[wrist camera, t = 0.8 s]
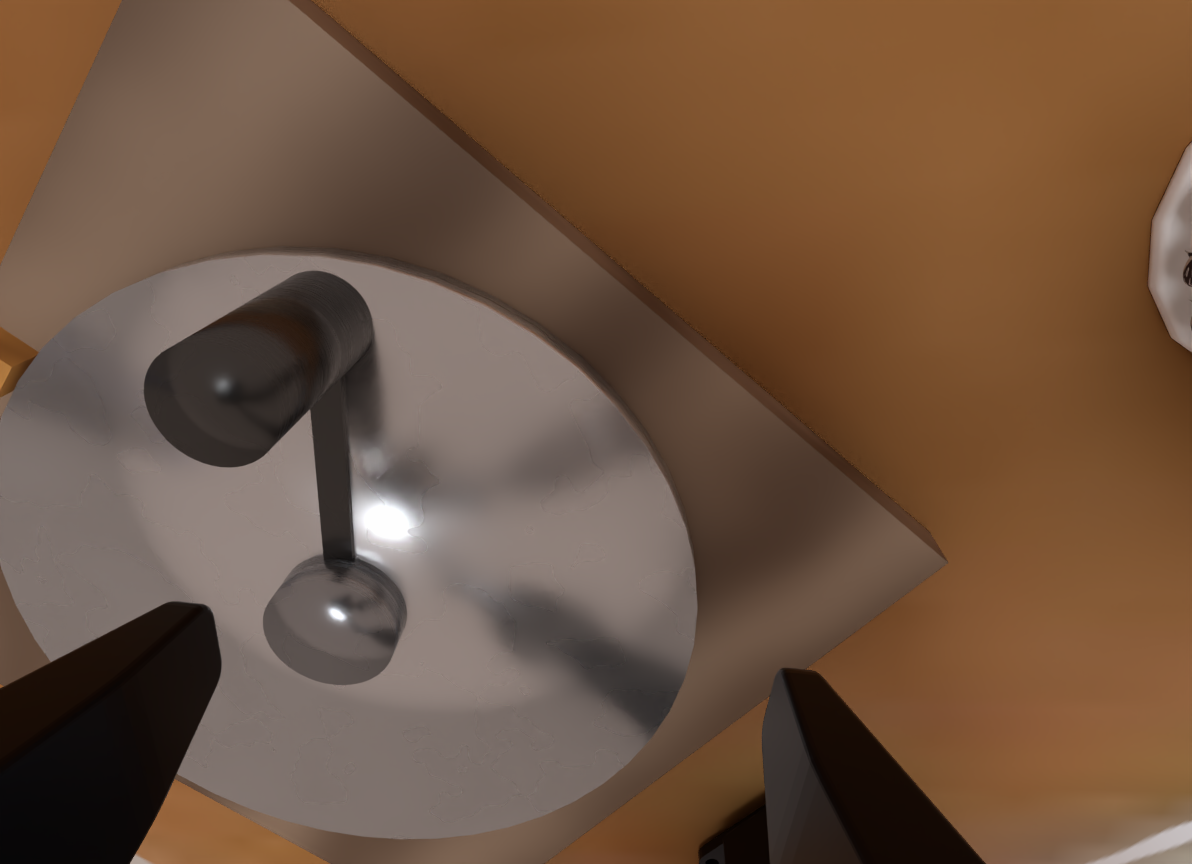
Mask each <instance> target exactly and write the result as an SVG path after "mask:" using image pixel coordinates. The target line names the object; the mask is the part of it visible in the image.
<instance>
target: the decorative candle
mask: <svg viewBox="0 0 1192 864" xmlns="http://www.w3.org/2000/svg"><path fill="white" fill-rule="evenodd" d="M1148 288H1149V290H1150V292H1151V294H1152V297H1153V299H1154V301H1155V303H1156V306H1157V308H1158V310H1159V312H1160V315H1161V317H1162V319H1163V321H1164V324H1165V326H1166V328H1167V330H1168V332H1169V335H1170V337H1171V338H1172V339H1174V340H1175V341H1176V342H1178V343H1179V344H1181V345H1182V346H1183V347H1185V348H1186V349H1188V350H1189V351H1190V352H1192V142H1191V143H1190V144H1189V145H1188V146H1187V147H1186V149H1185V151H1184V153H1183V155H1182V158H1181V160H1180V162H1179V164H1178V166H1177V168H1176V170H1175V172H1174V175H1173V177H1172V179H1171V181H1170V183H1169V185H1168V187H1167V189H1166V192H1165V194H1164V196H1163V198H1162V200H1161V202H1160V204H1159V206H1158V208H1157V211H1156V213H1155V215H1154V217H1153V219H1152V228H1151V243H1150V259H1149V274H1148Z"/></svg>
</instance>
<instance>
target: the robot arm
mask: <svg viewBox="0 0 1192 864" xmlns="http://www.w3.org/2000/svg"><path fill="white" fill-rule="evenodd" d="M221 670H222V658H221V652H220V647H219V641H218V636H217V630H216V625H215V619H214V615H213V612H212V610H211V609H210V607H208V606H207V605H204V604H199V603H190V602H181V601H171V602H167V603H165V604H162V605H160V606H158V607H156V608H155V609H153V610H151V611H149V612H147V613H145V614H143V615H141V616H139V617H137V618H135V619H133V620H131V621H129V622H127V623H126V624H124V625H122V626H120V627H118V628H116V629H114V630H112V631H110V632H108V633H106V634H104V635H102V636H100V637H98V638H97V639H95V640H93V641H91V642H89V643H87V644H85V645H83V646H81V647H79V648H77V649H75V650H73V651H71V652H69V653H68V654H66V655H64V656H62V657H60V658H58V659H56V660H54V661H52V662H50V663H48V664H46V665H44V666H42V667H40V668H39V669H37V670H35V671H33V672H31V673H29V674H27V675H25V676H23V677H21V678H19V679H17V680H15V681H13V682H11V683H10V684H8V685H6V686H4V687H2V688H0V864H130V862H131V861H132V859H133V857H134V855H135V854H136V852H137V850H138V849H139V847H140V845H141V843H142V842H143V840H144V838H145V836H146V835H147V833H148V831H149V829H150V827H151V826H152V824H153V822H154V820H155V818H156V816H157V814H158V812H159V810H160V808H161V806H162V804H163V802H164V800H165V798H166V796H167V794H168V792H169V790H170V787H171V785H172V783H173V781H174V779H175V776H176V774H177V772H178V770H179V768H180V766H181V763H182V761H183V759H184V757H185V755H186V752H187V750H188V748H189V746H190V744H191V742H192V739H193V737H194V735H195V733H196V731H197V728H198V726H199V724H200V722H201V720H202V718H203V715H204V713H205V711H206V709H207V707H208V704H209V702H210V700H211V698H212V696H213V694H214V691H215V689H216V687H217V685H218V682H219V679H220V676H221ZM762 753H763V768H764V782H765V797H766V804H765V805H764V806H762V807H761V808H759V809H758V810H756V811H755V812H753V813H752V814H750V815H749V816H747V817H746V818H744V819H743V820H741V821H740V822H738V823H737V824H735V825H734V826H733V827H731V828H730V829H728V830H727V831H725V832H724V833H722V834H721V835H719V836H718V837H716V838H715V839H713V840H712V841H710V842H709V843H707V844H706V845H704V846H703V847H701V848H700V850H699V852H698V858H699V864H986V863H985V862H984V861H983V860H982V859H981V858H980V856H979V855H978V854H977V853H976V852H975V851H974V850H973V848H972V847H971V846H970V845H969V844H968V843H967V842H966V840H965V839H964V838H963V837H962V836H961V835H960V834H959V832H958V831H957V830H956V829H955V828H954V827H953V826H952V824H951V823H950V822H949V821H948V820H947V819H946V818H945V816H944V815H943V814H942V813H941V812H940V811H939V810H938V808H937V807H936V806H935V805H934V804H933V803H932V802H931V800H930V799H929V798H928V797H927V796H926V795H925V794H924V792H923V791H922V790H921V789H920V788H919V787H918V786H917V784H916V783H915V782H914V781H913V780H912V779H911V777H910V776H909V775H908V774H907V773H906V772H905V771H904V769H903V768H902V767H901V766H900V765H899V764H898V763H897V761H896V760H895V759H894V758H893V757H892V756H891V755H890V753H889V752H888V751H887V750H886V749H885V748H884V747H883V745H882V744H881V743H880V742H879V741H878V740H877V739H876V737H875V736H874V735H873V734H872V733H871V732H870V731H869V729H868V728H867V727H866V726H865V725H864V724H863V723H862V721H861V720H860V719H859V718H858V717H857V716H856V715H855V713H854V712H853V711H852V710H851V709H850V708H849V707H848V705H847V704H846V703H845V702H844V701H843V700H842V699H841V697H840V696H839V695H838V694H837V693H836V692H835V691H834V689H833V688H832V687H831V686H830V685H829V684H828V682H827V681H826V680H825V679H824V678H823V677H822V676H821V675H820V674H819V673H817V672H815V671H812V670H804V669H795V668H782V669H780V670H778V672H777V674H776V675H775V678H774V682H773V686H772V690H771V694H770V698H769V702H768V705H767V709H766V713H765V717H764V721H763V728H762Z"/></svg>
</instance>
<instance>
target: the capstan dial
mask: <svg viewBox="0 0 1192 864" xmlns="http://www.w3.org/2000/svg"><path fill="white" fill-rule="evenodd" d="M0 565H1V569H2V572H3V574H4V577H5V579H6V582H7V584H8V587H9V589H10V592H11V594H12V597H13V599H14V602H15V604H16V606H17V608H18V610H19V612H20V613H21V615H22V617H23V619H24V621H25V623H26V624H27V626H28V628H29V630H30V632H31V633H32V635H33V637H34V639H35V640H36V642H37V643H38V645H39V646H40V647H41V649H42V650H43V652H44V653H45V654H46V656H47V657H48V659H49V660H50V661H51V662H52V661H54V660H56V659H58V658H60V657H62V656H64V655H66V654H68V653H69V652H71V651H73V650H75V649H77V648H79V647H81V646H83V645H85V644H87V643H89V642H91V641H93V640H95V639H97V638H98V637H100V636H102V635H104V634H106V633H108V632H110V631H112V630H114V629H116V628H118V627H120V626H122V625H124V624H126V623H127V622H129V621H131V620H133V619H135V618H137V617H139V616H141V615H143V614H145V613H147V612H149V611H151V610H153V609H155V608H156V607H158V606H160V605H162V604H165V603H167V602H171V601H181V602H190V603H199V604H204V605H207V606H208V607H210V609H211V610H212V612H213V615H214V619H215V625H216V630H217V636H218V641H219V647H220V652H221V658H222V670H221V676H220V679H219V682H218V685H217V687H216V689H215V691H214V694H213V696H212V698H211V700H210V702H209V704H208V707H207V709H206V711H205V713H204V715H203V718H202V720H201V722H200V724H199V726H198V728H197V731H196V733H195V735H194V737H193V739H192V742H191V744H190V746H189V748H188V750H187V752H186V755H185V757H184V759H183V761H182V763H181V766H180V768H179V770H178V772H177V774H178V775H180V776H182V777H184V778H186V779H187V780H189V781H191V782H193V783H195V784H197V785H199V786H201V787H203V788H205V789H206V790H208V791H210V792H212V793H214V794H216V795H219V796H221V797H223V798H226V799H228V800H230V801H233V802H235V803H237V804H240V805H242V806H244V807H247V808H249V809H252V810H255V811H258V812H261V813H264V814H267V815H270V816H273V817H276V818H279V819H282V820H285V821H288V822H292V823H296V824H300V825H304V826H308V827H312V828H316V829H321V830H325V831H331V832H337V833H343V834H350V835H356V836H362V837H376V838H389V839H439V838H448V837H457V836H466V835H474V834H479V833H484V832H489V831H493V830H498V829H503V828H508V827H511V826H514V825H517V824H520V823H523V822H526V821H529V820H533V819H536V818H539V817H542V816H544V815H546V814H548V813H551V812H553V811H555V810H557V809H559V808H562V807H564V806H566V805H568V804H570V803H573V802H574V801H576V800H578V799H579V798H581V797H583V796H584V795H586V794H587V793H589V792H591V791H592V790H594V789H596V788H597V787H599V786H601V785H602V784H603V783H605V782H606V781H607V780H608V779H610V778H611V777H612V776H613V775H614V774H616V773H617V772H618V771H619V770H621V769H622V768H623V767H624V766H626V765H627V764H628V763H629V762H630V761H631V760H632V759H633V758H634V757H635V756H636V754H637V753H638V752H639V751H640V750H641V749H642V748H643V747H644V746H645V745H646V744H647V743H648V741H649V740H650V739H651V738H652V737H653V735H654V734H655V732H656V731H657V729H658V728H659V726H660V725H661V723H662V722H663V720H664V719H665V717H666V716H667V714H668V713H669V711H670V710H671V707H672V705H673V703H674V701H675V699H676V697H677V695H678V692H679V690H680V688H681V686H682V684H683V682H684V679H685V676H686V672H687V669H688V665H689V661H690V658H691V654H692V650H693V647H694V639H695V629H696V619H697V610H698V607H697V591H696V576H695V563H694V552H693V545H692V541H691V537H690V532H689V528H688V523H687V519H686V514H685V510H684V507H683V504H682V502H681V499H680V497H679V494H678V492H677V489H676V487H675V484H674V482H673V479H672V476H671V474H670V471H669V469H668V467H667V465H666V464H665V462H664V460H663V458H662V457H661V455H660V453H659V451H658V450H657V448H656V446H655V444H654V443H653V441H652V439H651V437H650V436H649V434H648V432H647V430H646V429H645V428H644V426H643V425H642V424H641V422H640V421H639V420H638V418H637V417H636V416H635V414H634V413H633V412H632V411H631V409H630V408H629V407H628V405H627V404H626V403H625V401H624V400H623V399H622V398H621V396H620V395H619V394H618V392H617V391H616V390H615V389H614V388H613V387H612V386H611V385H610V384H609V383H608V382H607V381H606V380H605V379H604V378H603V377H602V376H601V375H600V374H599V373H598V372H597V371H596V370H595V369H594V368H593V367H592V366H591V365H590V364H589V363H588V362H587V361H586V360H585V359H584V358H583V357H582V356H581V355H580V354H578V353H577V352H576V351H574V350H573V349H572V348H570V347H569V346H568V345H567V344H565V343H564V342H563V341H561V340H560V339H559V338H558V337H556V336H555V335H554V334H552V333H551V332H550V331H549V330H547V329H546V328H545V327H543V326H542V325H541V324H540V323H538V322H536V321H535V320H533V319H531V318H529V317H528V316H526V315H524V314H523V313H521V312H519V311H518V310H516V309H514V308H513V307H511V306H509V305H508V304H506V303H504V302H503V301H501V300H499V299H498V298H496V297H494V296H492V295H490V294H488V293H486V292H483V291H481V290H479V289H477V288H474V287H472V286H470V285H467V284H465V283H463V282H461V281H458V280H456V279H454V278H452V277H449V276H447V275H445V274H442V273H439V272H436V271H433V270H429V269H426V268H423V267H419V266H416V265H413V264H409V263H406V262H403V261H399V260H396V259H393V258H389V257H384V256H378V255H372V254H366V253H360V252H354V251H348V250H342V249H336V248H315V247H287V246H278V247H269V248H259V249H249V250H239V251H230V252H225V253H221V254H218V255H214V256H210V257H206V258H202V259H198V260H194V261H190V262H186V263H182V264H179V265H177V266H175V267H172V268H170V269H168V270H165V271H163V272H160V273H158V274H156V275H153V276H151V277H149V278H146V279H144V280H142V281H139V282H137V283H135V284H132V285H130V286H128V287H125V288H123V289H121V290H118V291H116V292H114V293H112V294H110V295H109V296H107V297H106V298H104V299H103V300H101V301H99V302H98V303H96V304H95V305H93V306H92V307H90V308H89V309H87V310H86V311H84V312H82V313H81V314H79V315H78V316H76V317H75V318H73V319H72V320H71V321H70V322H69V323H68V324H67V325H66V326H65V327H64V328H63V329H62V330H61V331H60V332H59V333H57V334H56V335H55V336H54V337H53V338H52V339H51V340H50V341H49V342H48V343H47V344H46V345H45V346H44V347H43V348H42V349H41V350H40V352H39V353H38V354H37V356H36V357H35V359H34V360H33V361H32V363H31V364H30V365H29V367H28V368H27V370H26V371H25V372H24V374H23V375H22V376H21V378H20V379H19V381H18V383H17V385H16V387H15V389H14V391H13V393H12V395H11V397H10V399H9V402H8V404H7V406H6V408H5V410H4V412H3V414H2V416H1V420H0Z"/></svg>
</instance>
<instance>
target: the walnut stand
mask: <svg viewBox="0 0 1192 864" xmlns="http://www.w3.org/2000/svg"><path fill="white" fill-rule="evenodd" d="M278 246H287V247H315V248H336V249H342V250H348V251H354V252H360V253H366V254H372V255H378V256H384V257H389V258H393V259H396V260H399V261H403V262H406V263H409V264H413V265H416V266H419V267H423V268H426V269H429V270H433V271H436V272H439V273H442V274H445V275H447V276H449V277H452V278H454V279H456V280H458V281H461V282H463V283H465V284H467V285H470V286H472V287H474V288H477V289H479V290H481V291H483V292H486V293H488V294H490V295H492V296H494V297H496V298H498V299H499V300H501V301H503V302H504V303H506V304H508V305H509V306H511V307H513V308H514V309H516V310H518V311H519V312H521V313H523V314H524V315H526V316H528V317H529V318H531V319H533V320H535V321H536V322H538V323H540V324H541V325H542V326H543V327H545V328H546V329H547V330H549V331H550V332H551V333H552V334H554V335H555V336H556V337H558V338H559V339H560V340H561V341H563V342H564V343H565V344H567V345H568V346H569V347H570V348H572V349H573V350H574V351H576V352H577V353H578V354H580V355H581V356H582V357H583V358H584V359H585V360H586V361H587V362H588V363H589V364H590V365H591V366H592V367H593V368H594V369H595V370H596V371H597V372H598V373H599V374H600V375H601V376H602V377H603V378H604V379H605V380H606V381H607V382H608V383H609V384H610V385H611V386H612V387H613V388H614V389H615V390H616V391H617V392H618V394H619V395H620V396H621V398H622V399H623V400H624V401H625V403H626V404H627V405H628V407H629V408H630V409H631V411H632V412H633V413H634V414H635V416H636V417H637V418H638V420H639V421H640V422H641V424H642V425H643V426H644V428H645V429H646V430H647V432H648V434H649V436H650V437H651V439H652V441H653V443H654V444H655V446H656V448H657V450H658V451H659V453H660V455H661V457H662V458H663V460H664V462H665V464H666V465H667V467H668V469H669V471H670V474H671V476H672V479H673V482H674V484H675V487H676V489H677V492H678V494H679V497H680V499H681V502H682V504H683V507H684V510H685V514H686V519H687V523H688V528H689V532H690V537H691V541H692V545H693V552H694V563H695V576H696V591H697V607H698V610H697V619H696V629H695V639H694V647H693V650H692V654H691V658H690V661H689V665H688V669H687V672H686V676H685V679H684V682H683V684H682V686H681V688H680V690H679V692H678V695H677V697H676V699H675V701H674V703H673V705H672V707H671V710H670V711H669V713H668V714H667V716H666V717H665V719H664V720H663V722H662V723H661V725H660V726H659V728H658V729H657V731H656V732H655V734H654V735H653V737H652V738H651V739H650V740H649V741H648V743H647V744H646V745H645V746H644V747H643V748H642V749H641V750H640V751H639V752H638V753H637V754H636V756H635V757H634V758H633V759H632V760H631V761H630V762H629V763H628V764H627V765H626V766H624V767H623V768H622V769H621V770H619V771H618V772H617V773H616V774H614V775H613V776H612V777H611V778H610V779H608V780H607V781H606V782H605V783H603V784H602V785H601V786H599V787H597V788H596V789H594V790H592V791H591V792H589V793H587V794H586V795H584V796H583V797H581V798H579V799H578V800H576V801H574V802H573V803H570V804H568V805H566V806H564V807H562V808H559V809H557V810H555V811H553V812H551V813H548V814H546V815H544V816H542V817H539V818H536V819H533V820H529V821H526V822H523V823H520V824H517V825H514V826H511V827H508V828H503V829H498V830H493V831H489V832H484V833H479V834H474V835H466V836H457V837H448V838H439V839H389V838H376V837H362V836H356V835H350V834H343V833H337V832H331V831H325V830H321V829H316V828H312V827H308V826H304V825H300V824H296V823H292V822H288V821H285V820H282V819H279V818H276V817H273V816H270V815H267V814H264V813H261V812H258V811H255V810H252V809H249V808H247V807H244V806H242V805H240V804H237V803H235V802H233V801H230V800H228V799H226V798H223V797H221V796H219V795H216V794H214V793H212V792H210V791H208V790H206V789H205V788H203V787H201V786H199V785H197V784H195V783H193V782H191V781H189V780H187V779H186V778H184V777H182V776H180V775H178V774H176V776H175V779H176V780H178V781H180V782H182V783H183V784H185V785H187V786H189V787H191V788H193V789H194V790H196V791H198V792H200V793H202V794H204V795H205V796H207V797H209V798H211V799H213V800H215V801H216V802H218V803H220V804H222V805H224V806H226V807H227V808H229V809H231V810H233V811H235V812H237V813H239V814H240V815H242V816H244V817H246V818H248V819H250V820H251V821H253V822H255V823H257V824H259V825H261V826H262V827H264V828H266V829H268V830H270V831H272V832H273V833H275V834H277V835H279V836H281V837H283V838H285V839H286V840H288V841H290V842H292V843H294V844H296V845H297V846H299V847H301V848H303V849H305V850H307V851H308V852H310V853H312V854H314V855H316V856H318V857H319V858H321V859H323V860H325V861H327V862H329V863H330V864H544V863H546V862H547V861H549V860H550V859H551V858H553V857H554V856H555V855H557V854H558V853H559V852H561V851H562V850H563V849H565V848H566V847H567V846H569V845H570V844H571V843H573V842H574V841H575V840H577V839H578V838H579V837H581V836H582V835H583V834H585V833H586V832H587V831H589V830H590V829H591V828H593V827H594V826H596V825H597V824H598V823H600V822H601V821H602V820H604V819H605V818H606V817H608V816H609V815H610V814H612V813H613V812H614V811H616V810H617V809H618V808H620V807H621V806H622V805H624V804H625V803H626V802H628V801H629V800H630V799H632V798H633V797H634V796H636V795H637V794H638V793H640V792H641V791H643V790H644V789H645V788H647V787H648V786H649V785H651V784H652V783H653V782H655V781H656V780H657V779H659V778H660V777H661V776H663V775H664V774H665V773H667V772H668V771H669V770H671V769H672V768H673V767H675V766H676V765H677V764H679V763H680V762H681V761H683V760H684V759H685V758H687V757H688V756H689V755H691V754H692V753H694V752H695V751H696V750H698V749H699V748H700V747H702V746H703V745H704V744H706V743H707V742H708V741H710V740H711V739H712V738H714V737H715V736H716V735H718V734H719V733H720V732H722V731H723V730H724V729H726V728H727V727H728V726H730V725H731V724H732V723H734V722H735V721H736V720H738V719H739V718H741V717H742V716H743V715H745V714H746V713H747V712H749V711H750V710H751V709H753V708H754V707H755V706H757V705H758V704H759V703H761V702H762V701H763V700H765V699H766V698H767V697H769V696H770V694H771V690H772V686H773V682H774V678H775V675H776V674H777V672H778V670H780V669H782V668H795V669H804V670H805V669H806V668H808V667H809V666H810V665H812V664H813V663H814V662H816V661H817V660H818V659H820V658H821V657H822V656H824V655H825V654H826V653H828V652H829V651H830V650H832V649H833V648H835V647H836V646H837V645H839V644H840V643H841V642H843V641H844V640H845V639H847V638H848V637H849V636H851V635H852V634H853V633H855V632H856V631H857V630H859V629H860V628H861V627H863V626H864V625H865V624H867V623H868V622H869V621H871V620H872V619H873V618H875V617H876V616H877V615H879V614H880V613H881V612H883V611H884V610H886V609H887V608H888V607H890V606H891V605H892V604H894V603H895V602H896V601H898V600H899V599H900V598H902V597H903V596H904V595H906V594H907V593H908V592H910V591H911V590H912V589H914V588H915V587H916V586H918V585H919V584H920V583H922V582H923V581H924V580H926V579H927V578H928V577H930V576H931V575H933V574H934V573H935V572H937V571H938V570H939V569H941V568H942V567H943V566H945V565H946V564H947V563H948V561H947V560H946V558H945V556H944V555H943V553H942V551H941V550H940V548H939V547H938V545H937V543H936V542H935V540H934V538H933V537H932V535H931V533H930V532H929V531H928V530H926V529H925V528H924V527H923V526H922V525H921V524H919V523H918V522H917V521H916V520H915V519H914V518H912V517H911V516H910V515H909V514H908V513H907V512H906V511H904V510H903V509H902V508H901V507H900V506H899V505H897V504H896V503H895V502H894V501H893V500H892V499H890V498H889V497H888V496H887V495H886V494H885V493H883V492H882V491H881V490H880V489H879V488H878V487H876V486H875V485H874V484H873V483H872V482H871V481H869V480H868V479H867V478H866V477H865V476H864V475H862V474H861V473H860V472H859V471H858V470H857V469H855V468H854V467H853V466H852V465H851V464H850V463H849V462H847V461H846V460H845V459H844V458H843V457H842V456H840V455H839V454H838V453H837V452H836V451H835V450H833V449H832V448H831V447H830V446H829V445H828V444H826V443H825V442H824V441H823V440H822V439H821V438H819V437H818V436H817V435H816V434H815V433H814V432H812V431H811V430H810V429H809V428H808V427H807V426H805V425H804V424H803V423H802V422H801V421H800V420H798V419H797V418H796V417H795V416H794V415H793V414H792V413H790V412H789V411H788V410H787V409H786V408H785V407H783V406H782V405H781V404H780V403H779V402H778V401H776V400H775V399H774V398H773V397H772V396H771V395H769V394H768V393H767V392H766V391H765V390H764V389H762V388H761V387H760V386H759V385H758V384H757V383H755V382H754V381H753V380H752V379H751V378H750V377H748V376H747V375H746V374H745V373H744V372H743V371H741V370H740V369H739V368H738V367H737V366H736V365H735V364H733V363H732V362H731V361H730V360H729V359H728V358H726V357H725V356H724V355H723V354H722V353H721V352H719V351H718V350H717V349H716V348H715V347H714V346H712V345H711V344H710V343H709V342H708V341H707V340H705V339H704V338H703V337H702V336H701V335H700V334H698V333H697V332H696V331H695V330H694V329H693V328H691V327H690V326H689V325H688V324H687V323H686V322H684V321H683V320H682V319H681V318H680V317H679V316H678V315H676V314H675V313H674V312H673V311H672V310H671V309H669V308H668V307H667V306H666V305H665V304H664V303H662V302H661V301H660V300H659V299H658V298H657V297H655V296H654V295H653V294H652V293H651V292H650V291H648V290H647V289H646V288H645V287H644V286H643V285H641V284H640V283H639V282H638V281H637V280H636V279H634V278H633V277H632V276H631V275H630V274H629V273H627V272H626V271H625V270H624V269H623V268H622V267H621V266H619V265H618V264H617V263H616V262H615V261H614V260H612V259H611V258H610V257H609V256H608V255H607V254H605V253H604V252H603V251H602V250H601V249H600V248H598V247H597V246H596V245H595V244H594V243H593V242H591V241H590V240H589V239H588V238H587V237H586V236H584V235H583V234H582V233H581V232H580V231H579V230H577V229H576V228H575V227H574V226H573V225H572V224H570V223H569V222H568V221H567V220H566V219H565V218H564V217H562V216H561V215H560V214H559V213H558V212H557V211H555V210H554V209H553V208H552V207H551V206H550V205H548V204H547V203H546V202H545V201H544V200H543V199H541V198H540V197H539V196H538V195H537V194H536V193H534V192H533V191H532V190H531V189H530V188H529V187H527V186H526V185H525V184H524V183H523V182H522V181H520V180H519V179H518V178H517V177H516V176H515V175H513V174H512V173H511V172H510V171H509V170H508V169H507V168H505V167H504V166H503V165H502V164H501V163H500V162H498V161H497V160H496V159H495V158H494V157H493V156H491V155H490V154H489V153H488V152H487V151H486V150H484V149H483V148H482V147H481V146H480V145H479V144H477V143H476V142H475V141H474V140H473V139H472V138H470V137H469V136H468V135H467V134H466V133H465V132H463V131H462V130H461V129H460V128H459V127H458V126H456V125H455V124H454V123H453V122H452V121H451V120H450V119H448V118H447V117H446V116H445V115H444V114H443V113H441V112H440V111H439V110H438V109H437V108H436V107H434V106H433V105H432V104H431V103H430V102H429V101H427V100H426V99H425V98H424V97H423V96H422V95H420V94H419V93H418V92H417V91H416V90H415V89H413V88H412V87H411V86H410V85H409V84H408V83H406V82H405V81H404V80H403V79H402V78H401V77H399V76H398V75H397V74H396V73H395V72H394V71H393V70H391V69H390V68H389V67H388V66H387V65H386V64H384V63H383V62H382V61H381V60H380V59H379V58H377V57H376V56H375V55H374V54H373V53H372V52H370V51H369V50H368V49H367V48H366V47H365V46H363V45H362V44H361V43H360V42H359V41H358V40H356V39H355V38H354V37H353V36H352V35H351V34H349V33H348V32H347V31H346V30H345V29H344V28H342V27H341V26H340V25H339V24H338V23H337V22H336V21H334V20H333V19H332V18H331V17H330V16H329V15H327V14H326V13H325V12H324V11H323V10H322V9H320V8H319V7H318V6H317V5H316V4H315V3H313V2H312V1H311V0H122V2H121V4H120V6H119V8H118V10H117V13H116V15H115V17H114V19H113V21H112V23H111V26H110V28H109V30H108V32H107V34H106V36H105V39H104V41H103V43H102V45H101V47H100V50H99V52H98V54H97V56H96V58H95V60H94V63H93V65H92V67H91V69H90V71H89V73H88V76H87V78H86V80H85V82H84V84H83V87H82V89H81V91H80V93H79V95H78V97H77V100H76V102H75V104H74V106H73V108H72V110H71V113H70V115H69V117H68V119H67V121H66V124H65V126H64V128H63V130H62V132H61V134H60V137H59V139H58V141H57V143H56V145H55V148H54V150H53V152H52V154H51V156H50V158H49V161H48V163H47V165H46V167H45V169H44V171H43V174H42V176H41V178H40V180H39V182H38V185H37V187H36V189H35V191H34V193H33V195H32V198H31V200H30V202H29V204H28V206H27V208H26V211H25V213H24V215H23V217H22V219H21V222H20V224H19V226H18V228H17V230H16V232H15V235H14V237H13V239H12V241H11V243H10V245H9V248H8V250H7V252H6V254H5V256H4V259H3V261H2V263H1V265H0V420H1V416H2V414H3V412H4V410H5V408H6V406H7V404H8V402H9V399H10V397H11V395H12V393H13V391H14V389H15V387H16V385H17V383H18V381H19V379H20V378H21V376H22V375H23V374H24V372H25V371H26V370H27V368H28V367H29V365H30V364H31V363H32V361H33V360H34V359H35V357H36V356H37V354H38V353H39V352H40V350H41V349H42V348H43V347H44V346H45V345H46V344H47V343H48V342H49V341H50V340H51V339H52V338H53V337H54V336H55V335H56V334H57V333H59V332H60V331H61V330H62V329H63V328H64V327H65V326H66V325H67V324H68V323H69V322H70V321H71V320H72V319H73V318H75V317H76V316H78V315H79V314H81V313H82V312H84V311H86V310H87V309H89V308H90V307H92V306H93V305H95V304H96V303H98V302H99V301H101V300H103V299H104V298H106V297H107V296H109V295H110V294H112V293H114V292H116V291H118V290H121V289H123V288H125V287H128V286H130V285H132V284H135V283H137V282H139V281H142V280H144V279H146V278H149V277H151V276H153V275H156V274H158V273H160V272H163V271H165V270H168V269H170V268H172V267H175V266H177V265H179V264H182V263H186V262H190V261H194V260H198V259H202V258H206V257H210V256H214V255H218V254H221V253H225V252H230V251H239V250H249V249H259V248H269V247H278ZM50 662H51V661H50V660H49V659H48V657H47V656H46V654H45V653H44V652H43V650H42V649H41V647H40V646H39V645H38V643H37V642H36V640H35V639H34V637H33V635H32V633H31V632H30V630H29V628H28V626H27V624H26V623H25V621H24V619H23V617H22V615H21V613H20V612H19V610H18V608H17V606H16V604H15V602H14V599H13V597H12V594H11V592H10V589H9V587H8V584H7V582H6V579H5V577H4V574H3V572H2V569H1V565H0V684H1V685H3V686H6V685H8V684H10V683H11V682H13V681H15V680H17V679H19V678H21V677H23V676H25V675H27V674H29V673H31V672H33V671H35V670H37V669H39V668H40V667H42V666H44V665H46V664H48V663H50Z"/></svg>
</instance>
